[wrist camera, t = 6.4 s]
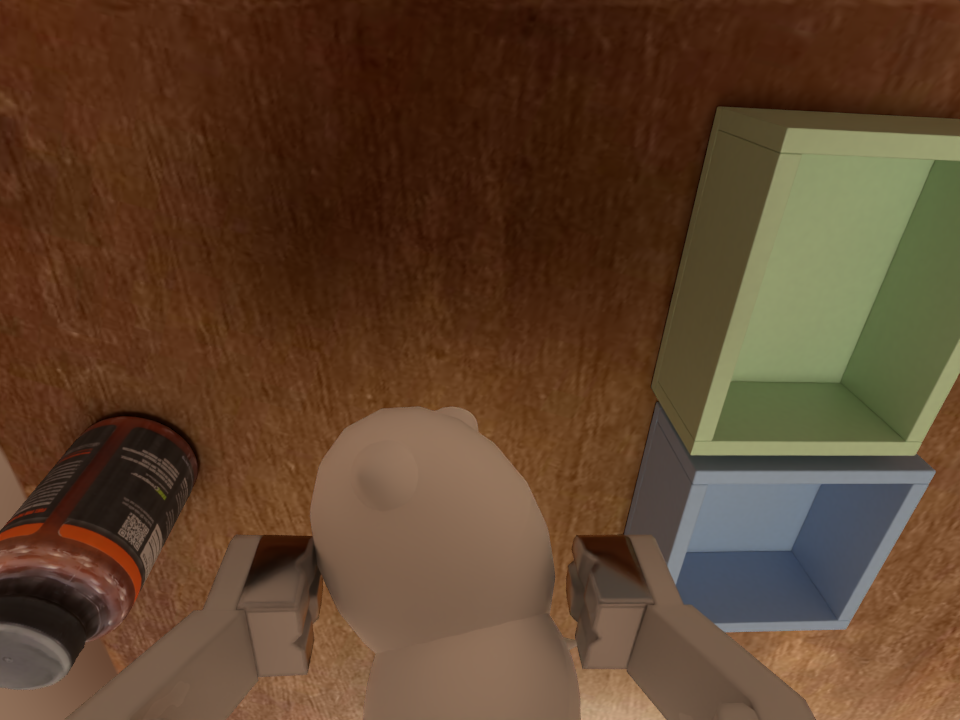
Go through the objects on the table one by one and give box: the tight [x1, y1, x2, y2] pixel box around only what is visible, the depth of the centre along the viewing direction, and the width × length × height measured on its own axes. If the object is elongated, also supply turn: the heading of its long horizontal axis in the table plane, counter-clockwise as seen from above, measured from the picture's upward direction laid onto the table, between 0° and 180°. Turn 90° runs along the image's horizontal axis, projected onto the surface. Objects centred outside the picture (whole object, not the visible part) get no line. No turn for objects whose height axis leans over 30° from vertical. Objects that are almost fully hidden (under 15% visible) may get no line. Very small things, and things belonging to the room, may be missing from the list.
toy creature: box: [310, 407, 581, 720], centre depth 11 cm, size 5×8×6 cm, turn 15°
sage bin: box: [651, 106, 960, 456], centre depth 25 cm, size 14×11×6 cm
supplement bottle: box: [0, 416, 198, 690], centre depth 26 cm, size 6×6×11 cm
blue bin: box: [624, 402, 936, 632], centre depth 32 cm, size 12×12×6 cm
